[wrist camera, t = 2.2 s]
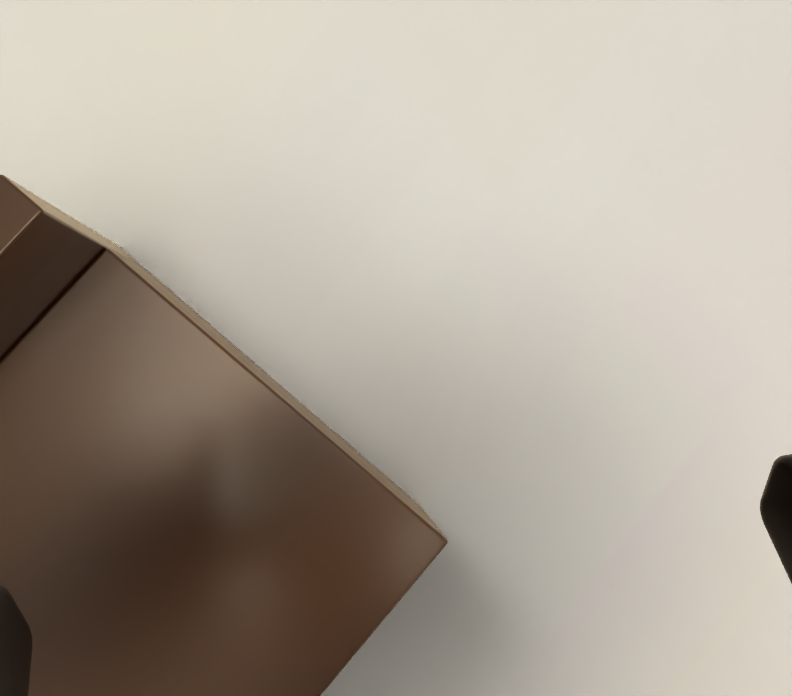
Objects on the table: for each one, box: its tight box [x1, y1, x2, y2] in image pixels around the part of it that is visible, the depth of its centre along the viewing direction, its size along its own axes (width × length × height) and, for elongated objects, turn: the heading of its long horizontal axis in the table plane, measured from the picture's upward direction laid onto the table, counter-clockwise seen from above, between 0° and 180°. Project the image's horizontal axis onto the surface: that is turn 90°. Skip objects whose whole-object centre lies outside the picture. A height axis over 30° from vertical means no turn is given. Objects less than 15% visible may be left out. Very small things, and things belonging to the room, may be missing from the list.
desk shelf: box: [0, 175, 448, 696], centre depth 18 cm, size 12×14×9 cm
